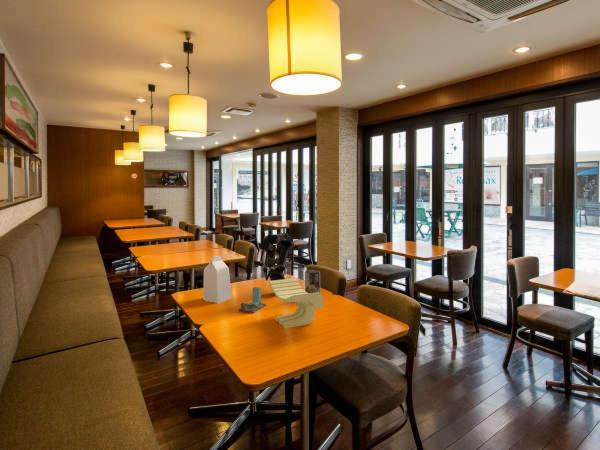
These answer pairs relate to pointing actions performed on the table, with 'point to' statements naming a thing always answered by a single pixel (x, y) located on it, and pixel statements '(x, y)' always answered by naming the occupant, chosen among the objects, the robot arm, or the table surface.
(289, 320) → the slatted curved stool
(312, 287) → the coffee box
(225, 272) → the milk
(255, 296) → the teal block
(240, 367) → the table surface
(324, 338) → the table surface
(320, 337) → the table surface
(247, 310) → the bracket
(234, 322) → the table surface
